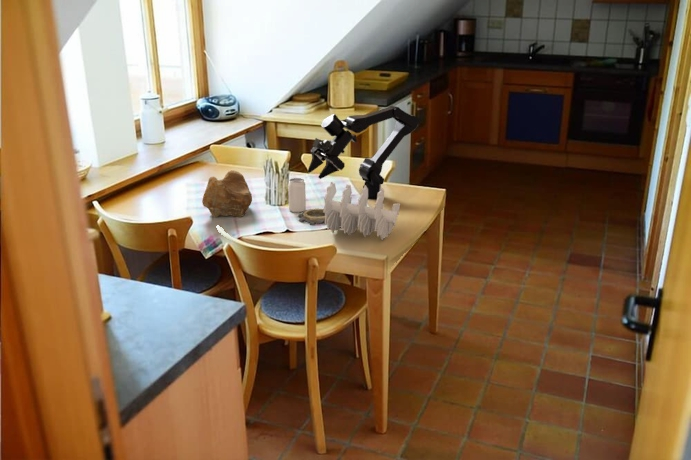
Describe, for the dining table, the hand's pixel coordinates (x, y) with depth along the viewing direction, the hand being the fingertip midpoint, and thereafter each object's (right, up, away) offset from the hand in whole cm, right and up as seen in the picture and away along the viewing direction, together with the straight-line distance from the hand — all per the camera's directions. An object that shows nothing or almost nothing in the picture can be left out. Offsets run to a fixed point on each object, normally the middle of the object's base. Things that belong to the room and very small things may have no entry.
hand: (313, 175), depth 250 cm
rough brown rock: (-31, -15, -2) cm, 34 cm away
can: (-6, -14, +2) cm, 15 cm away
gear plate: (+2, -17, -7) cm, 18 cm away
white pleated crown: (+17, -23, -22) cm, 36 cm away
